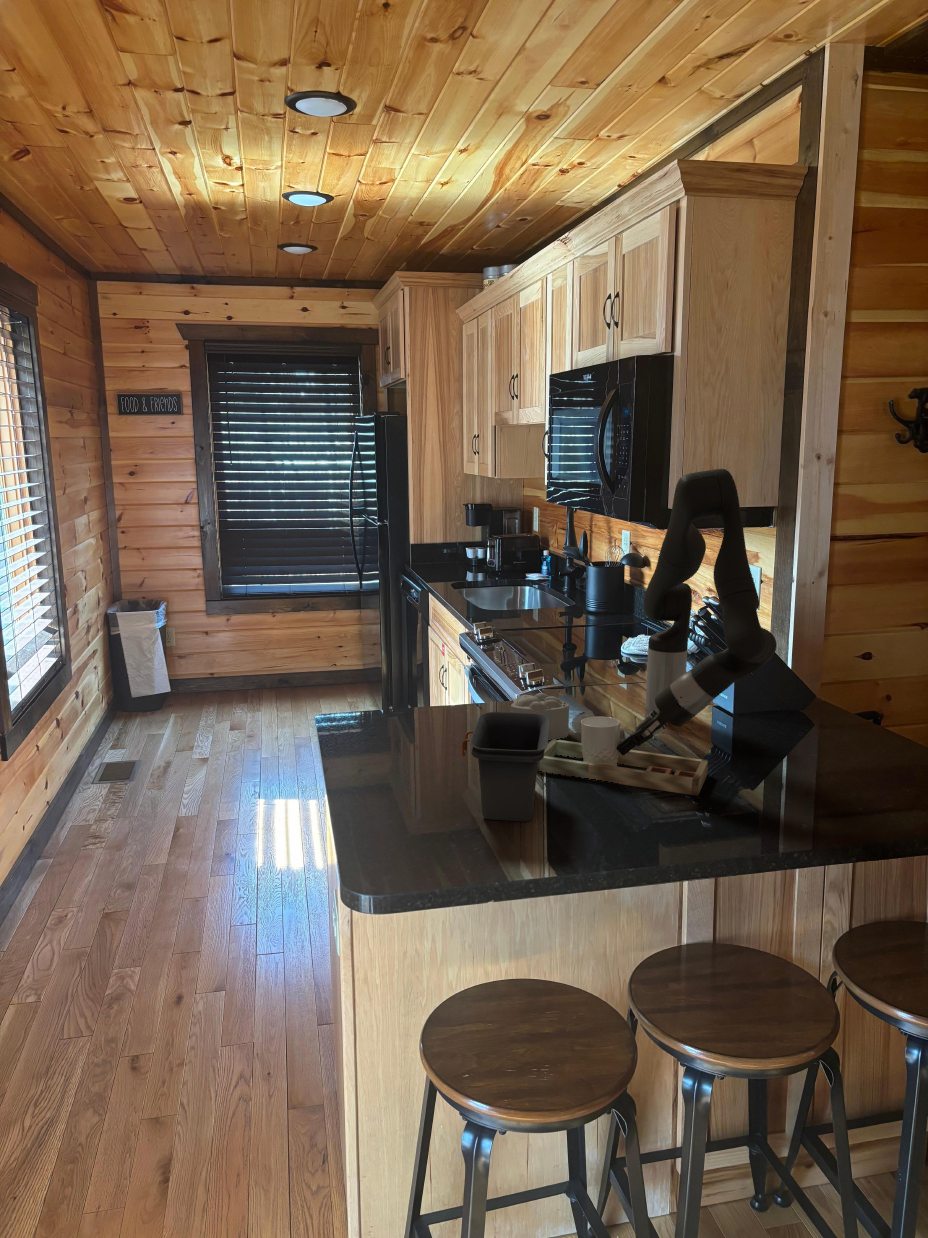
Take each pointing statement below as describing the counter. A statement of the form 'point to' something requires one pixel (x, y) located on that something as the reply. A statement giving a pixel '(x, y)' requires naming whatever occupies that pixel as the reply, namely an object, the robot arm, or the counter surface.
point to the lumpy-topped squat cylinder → (546, 712)
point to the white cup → (600, 740)
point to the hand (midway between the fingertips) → (620, 751)
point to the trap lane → (655, 777)
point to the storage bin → (508, 761)
